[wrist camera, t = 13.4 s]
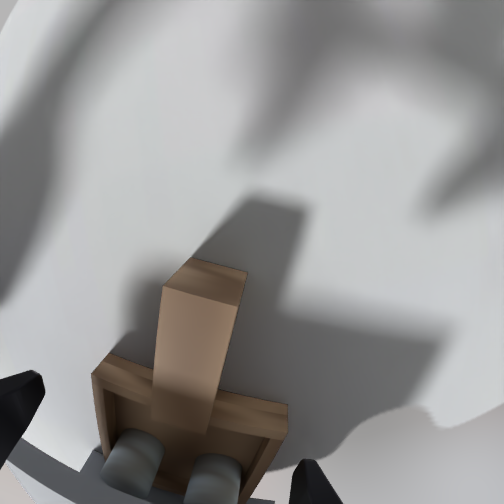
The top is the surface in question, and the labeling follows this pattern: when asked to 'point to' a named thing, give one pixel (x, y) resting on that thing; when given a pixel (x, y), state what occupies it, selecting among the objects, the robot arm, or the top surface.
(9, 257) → the top surface
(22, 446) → the grey piece
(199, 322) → the walnut tray
